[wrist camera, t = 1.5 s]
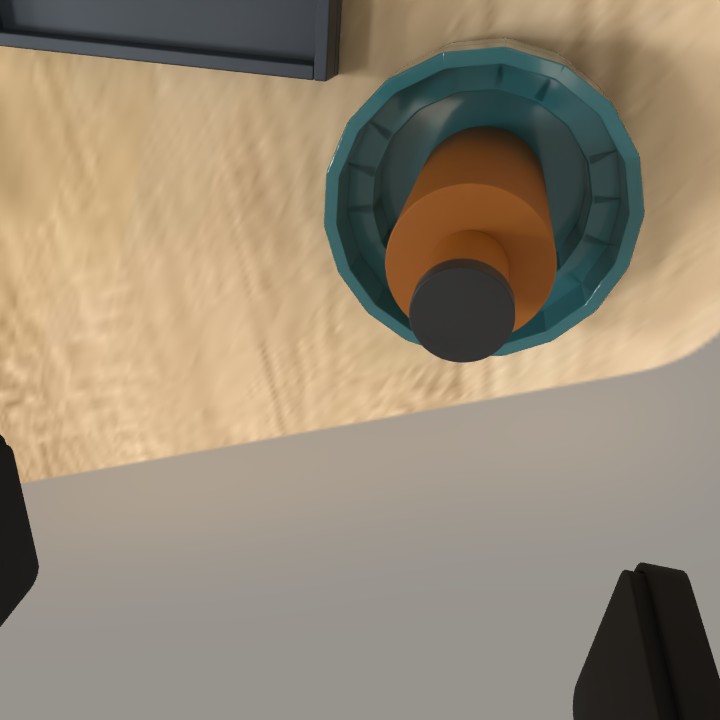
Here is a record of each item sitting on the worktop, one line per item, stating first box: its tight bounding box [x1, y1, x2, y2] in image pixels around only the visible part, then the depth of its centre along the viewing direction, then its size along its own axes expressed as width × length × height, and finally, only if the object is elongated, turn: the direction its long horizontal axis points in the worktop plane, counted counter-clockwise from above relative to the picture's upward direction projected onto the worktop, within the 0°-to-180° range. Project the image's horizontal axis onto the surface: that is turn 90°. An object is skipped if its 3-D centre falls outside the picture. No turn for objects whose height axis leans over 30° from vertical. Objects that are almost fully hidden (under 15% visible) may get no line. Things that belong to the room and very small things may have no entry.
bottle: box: [385, 126, 557, 362], centre depth 26 cm, size 6×6×14 cm
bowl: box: [324, 38, 645, 356], centre depth 30 cm, size 13×13×5 cm
